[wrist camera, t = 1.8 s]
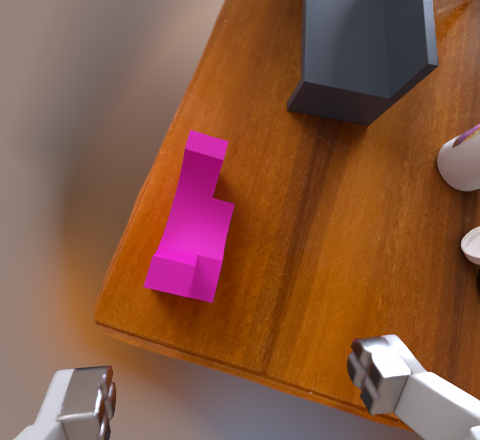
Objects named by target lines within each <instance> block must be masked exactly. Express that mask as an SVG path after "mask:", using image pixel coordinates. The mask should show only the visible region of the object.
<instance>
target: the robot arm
mask: <svg viewBox="0 0 480 440" xmlns="http://www.w3.org/2000/svg"><path fill="white" fill-rule="evenodd" d="M351 348H352V349H353V352H352V353H351V354H350V355H349V356H348V360H347V369H348V373H349V376H350V378H351V380H352V382H353V384H354V385H355V386H357V387H358V388H360V389H361V394H360V397H361V399H362V400H363V402H364V404H365V406H366V407H367V409H368V411H369V413H370V415H374V414H382V413H391V412H394V414H395V415H396V416H397V417H399V418H400V419H401V420H402V421H403V422H404V423H406V424H407V425H408V426H409V427H410V428H411V429H413V430H414V431H415V432H416V433H417V434H418V435H419V436H421V437H422V438H423V439H424V440H480V401H479V400H478V399H476V398H474V397H473V396H471V395H469V394H468V393H466V392H464V391H462V390H461V389H459V388H457V387H456V386H454V385H452V384H451V383H449V382H447V381H445V380H444V379H442V378H440V377H439V376H437V375H435V374H434V373H432V372H427V371H426V370H425V369H424V368H423V367H422V365H421V364H420V363H419V362H418V361H417V359H416V358H415V357H414V356H413V354H412V353H411V352H410V351H409V350H408V348H407V347H406V346H405V345H404V343H403V342H402V341H401V340H400V339H399V337H397V336H396V335H386V336H375V337H367V338H358V339H354V340H353V341H352V345H351ZM112 376H113V371H112V366H99V367H87V368H76V369H66V370H57V372H56V373H55V374H54V376H53V378H52V381H51V383H50V385H49V388H48V390H47V393H46V395H45V398H44V400H43V402H42V405H41V407H40V410H39V412H38V415H37V417H36V419H35V422H34V424H33V425H30V426H27V427H26V428H25V429H24V430H23V431H22V432H21V433H20V434H18V435H17V436H16V437H15V438H14V439H13V440H109V438H110V433H111V431H110V426H109V421H110V420H111V419H112V418H113V416H114V411H115V403H116V387H115V383H114V382H112Z"/></svg>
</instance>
